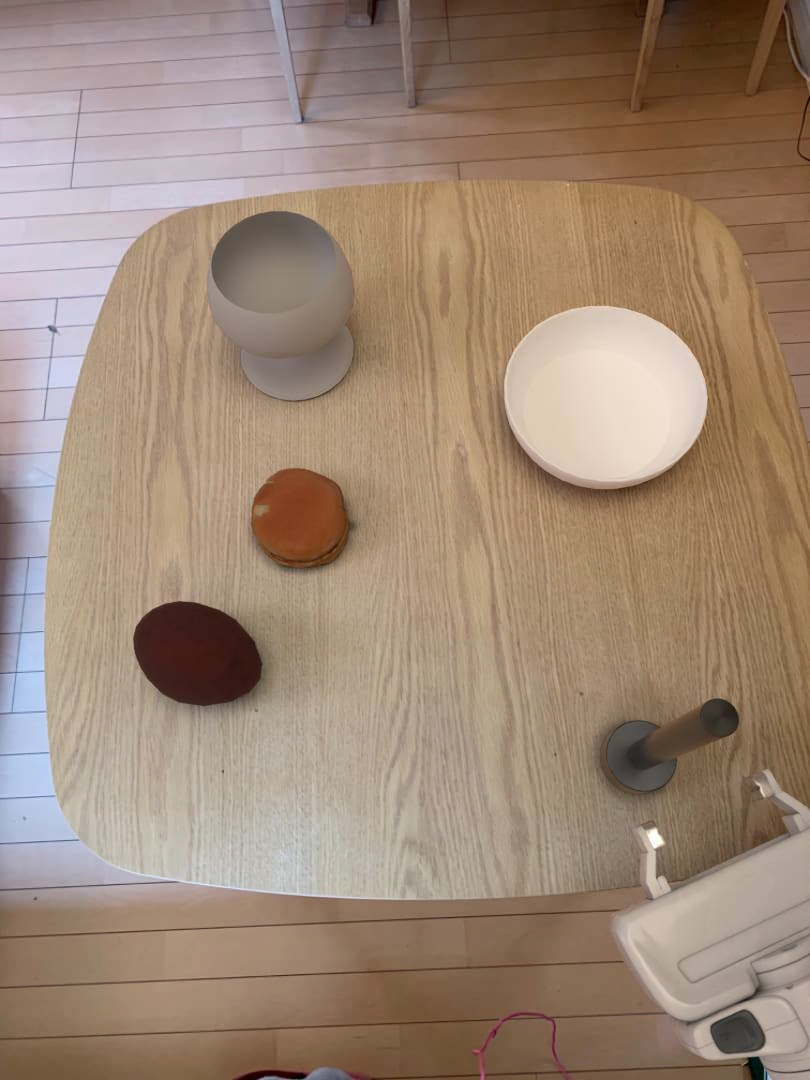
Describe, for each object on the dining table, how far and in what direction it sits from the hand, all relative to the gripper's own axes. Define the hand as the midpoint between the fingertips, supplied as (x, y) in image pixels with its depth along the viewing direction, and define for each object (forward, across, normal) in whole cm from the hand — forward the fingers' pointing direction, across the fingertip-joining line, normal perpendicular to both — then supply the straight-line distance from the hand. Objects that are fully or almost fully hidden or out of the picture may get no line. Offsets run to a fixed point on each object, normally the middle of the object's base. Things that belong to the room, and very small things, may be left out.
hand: (699, 798), depth 62 cm
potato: (+27, +32, +13) cm, 44 cm away
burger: (+37, +20, +13) cm, 44 cm away
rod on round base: (+4, 0, +12) cm, 13 cm away
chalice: (+56, +13, +13) cm, 59 cm away
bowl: (+36, -12, +13) cm, 40 cm away
